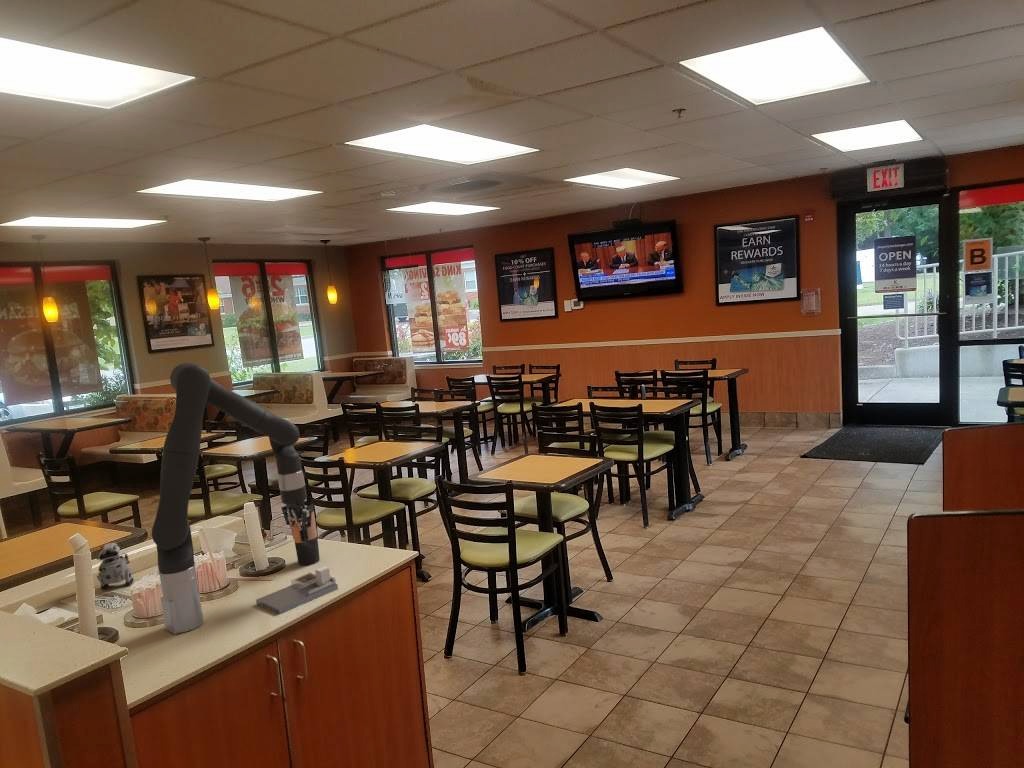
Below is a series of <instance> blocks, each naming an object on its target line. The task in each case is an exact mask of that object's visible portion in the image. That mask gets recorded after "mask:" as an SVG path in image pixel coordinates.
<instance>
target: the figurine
mask: <svg viewBox="0 0 1024 768" xmlns="http://www.w3.org/2000/svg"><path fill="white" fill-rule="evenodd" d="M99 548H100V549H101V550H100V552H99V554H98V556H97V558H96V561H97V560H98V561H101V562H100V564H99V567H98V575H96V578H97V580H98V582H99V583H100V590H102V591H104V590H106V589H107V588H108V587H109V585H112V584H119V583H121V582H123V581H124V582H125V583H124V584H125V586H126V587H130V586H131V585H132V584H133V583H134V581H135V579H134V577H133V573H132V571H131V569H130V568H128V566H127V564H130V562H131V561H130V560H129V556H128V553H125V552H124V553H122V554H121V555H120V554H119V553H120V550H121V547H120V546H118V544H117V543H115V542H109V543H106V544H104V546H100V547H99ZM123 555H124V556H123Z"/></svg>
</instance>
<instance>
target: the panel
mask: <svg viewBox="0 0 1024 768" xmlns="http://www.w3.org/2000/svg"><path fill="white" fill-rule="evenodd" d="M330 580H331V581H330V582H328V583H325V584H324V585H321V586H318V585H317V580H316V573H315V574H314V573H312V572H308V573H306V574H303V575H301V576H298V577H296V578H294V579H291V580H290V582H291V583H290V584H291V585H288V586H286V587H284V588H281V589H279V590H276V591H274V592H271V593H269V594H266V595H263V596H261V597H259V598H257V599H255V601H256V605H258V606H259V607H262V608H265V609H267V610H269V611H271V612H274V613H275V614H278V615H281V614H283V613H286V612H288V611H290V610H293V609H296V608H297V606H298V607H299V605H300V606H301V604H302V605H304V604H307V603H309V602H311V601H313V599H314V600H315V598H316V599H318V598H320V596H321V597H322V596H324V595H327V594H329V592H330V593H333V592H334V591H336V590H339V586H338V583H337V582H336V580H337V579H336V577H333V576H330ZM317 597H318V598H317ZM310 600H311V601H310ZM308 601H309V602H308ZM306 602H307V603H306ZM303 603H304V604H303Z"/></svg>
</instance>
